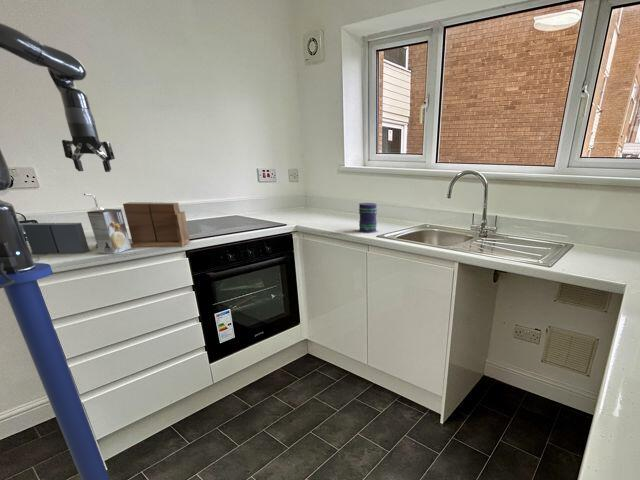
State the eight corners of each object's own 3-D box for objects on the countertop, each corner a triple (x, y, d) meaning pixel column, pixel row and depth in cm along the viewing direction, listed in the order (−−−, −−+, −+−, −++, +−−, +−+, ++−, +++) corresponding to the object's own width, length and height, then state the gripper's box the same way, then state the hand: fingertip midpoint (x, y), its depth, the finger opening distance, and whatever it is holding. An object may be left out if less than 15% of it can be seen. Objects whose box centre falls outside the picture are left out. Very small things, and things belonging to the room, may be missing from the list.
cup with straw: (121, 236, 165) (109, 192, 158) (99, 240, 157) (86, 193, 150) (109, 234, 168) (98, 191, 161) (88, 238, 160) (74, 192, 153)
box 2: (180, 241, 153) (173, 204, 147) (157, 242, 151) (149, 203, 145) (185, 238, 158) (178, 202, 152) (162, 239, 156) (154, 202, 150)
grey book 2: (83, 252, 136) (75, 224, 132) (59, 253, 134) (49, 224, 130) (89, 250, 140) (81, 222, 136) (65, 250, 138) (56, 222, 134)
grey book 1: (57, 253, 134) (48, 224, 130) (32, 253, 132) (22, 224, 128) (64, 251, 138) (55, 222, 134) (39, 251, 136) (29, 223, 132)
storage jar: (356, 231, 197) (355, 204, 191) (364, 228, 205) (364, 202, 200) (371, 233, 193) (371, 205, 188) (379, 230, 202) (379, 203, 196)
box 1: (156, 242, 151) (147, 203, 145) (132, 242, 148) (122, 203, 143) (161, 239, 156) (153, 202, 150) (138, 239, 154) (129, 202, 148)
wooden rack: (183, 246, 152) (176, 214, 147) (96, 247, 144) (86, 214, 139) (190, 241, 161) (184, 211, 156) (109, 242, 153) (100, 211, 148)
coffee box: (116, 248, 145) (106, 208, 139) (132, 248, 145) (122, 209, 139) (98, 253, 136) (86, 211, 130) (114, 254, 136) (103, 212, 130)
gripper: (50, 120, 118) (65, 171, 124) (99, 123, 122) (111, 172, 128) (64, 122, 125) (77, 170, 131) (110, 125, 129) (121, 171, 134)
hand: (94, 171), depth 129 cm, fingers open, 8 cm apart
